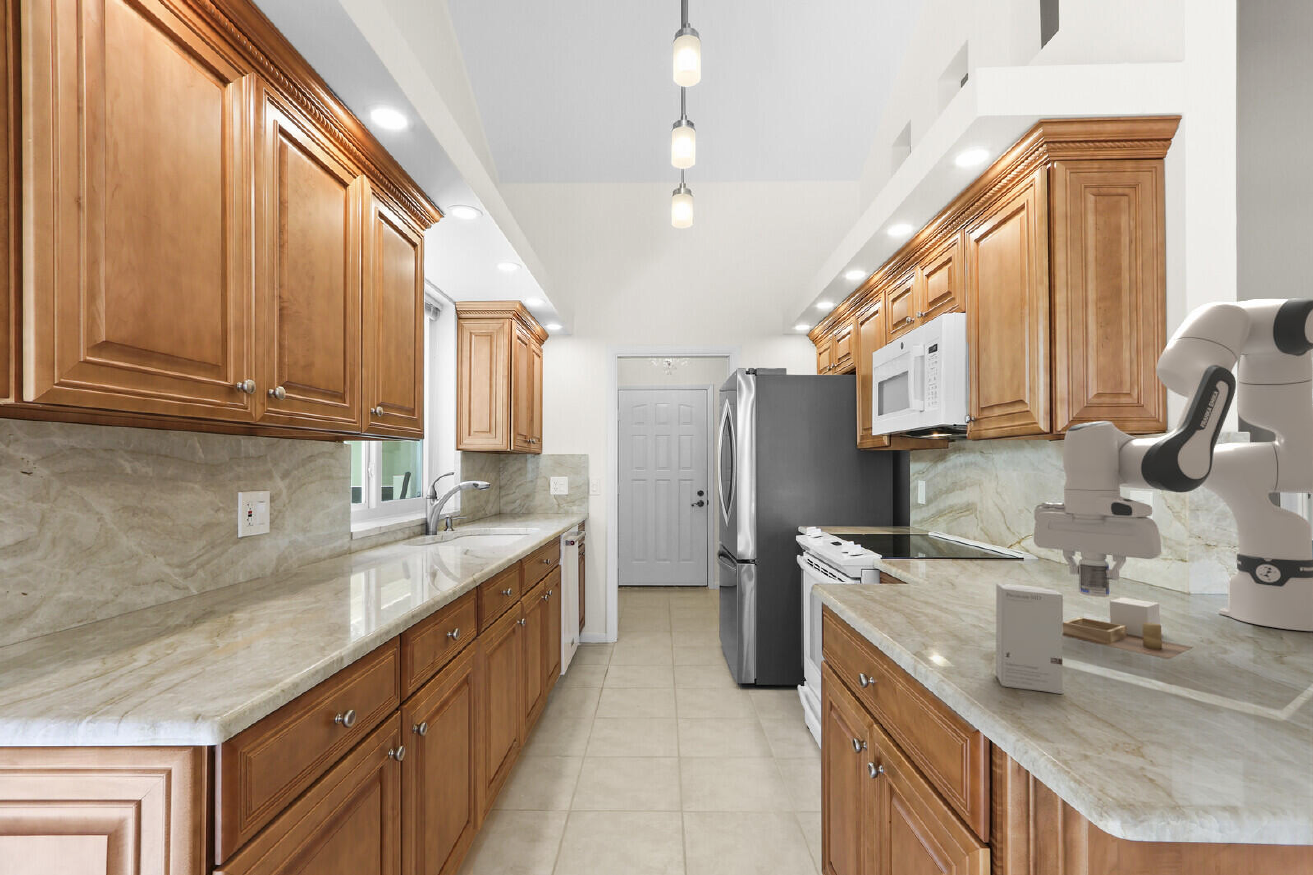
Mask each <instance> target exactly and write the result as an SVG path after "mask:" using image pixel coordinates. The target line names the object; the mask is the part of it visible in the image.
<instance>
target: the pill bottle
mask: <svg viewBox="0 0 1313 875" xmlns="http://www.w3.org/2000/svg"><path fill="white" fill-rule="evenodd" d="M1107 556H1108V555H1104V554H1098V553H1097V552H1091V551H1083V552H1080V558H1081V559H1079V560H1078V565H1079V575H1078V593H1080V594H1082V595H1085V596H1090V597H1097V598H1098V597H1100V598H1107V597H1109V596H1110V579H1107V577H1106V575H1107V573H1106V570H1108V569H1110V564H1109V562H1108V561H1106V560H1107Z"/></svg>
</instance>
